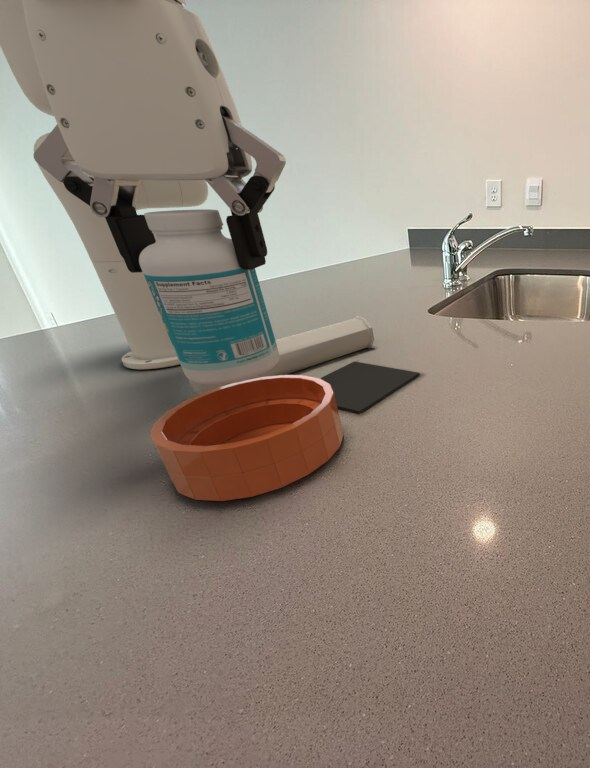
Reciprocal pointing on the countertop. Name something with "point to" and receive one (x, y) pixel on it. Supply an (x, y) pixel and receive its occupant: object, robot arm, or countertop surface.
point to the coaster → (365, 384)
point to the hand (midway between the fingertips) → (201, 266)
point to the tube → (314, 348)
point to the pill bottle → (207, 299)
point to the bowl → (248, 436)
